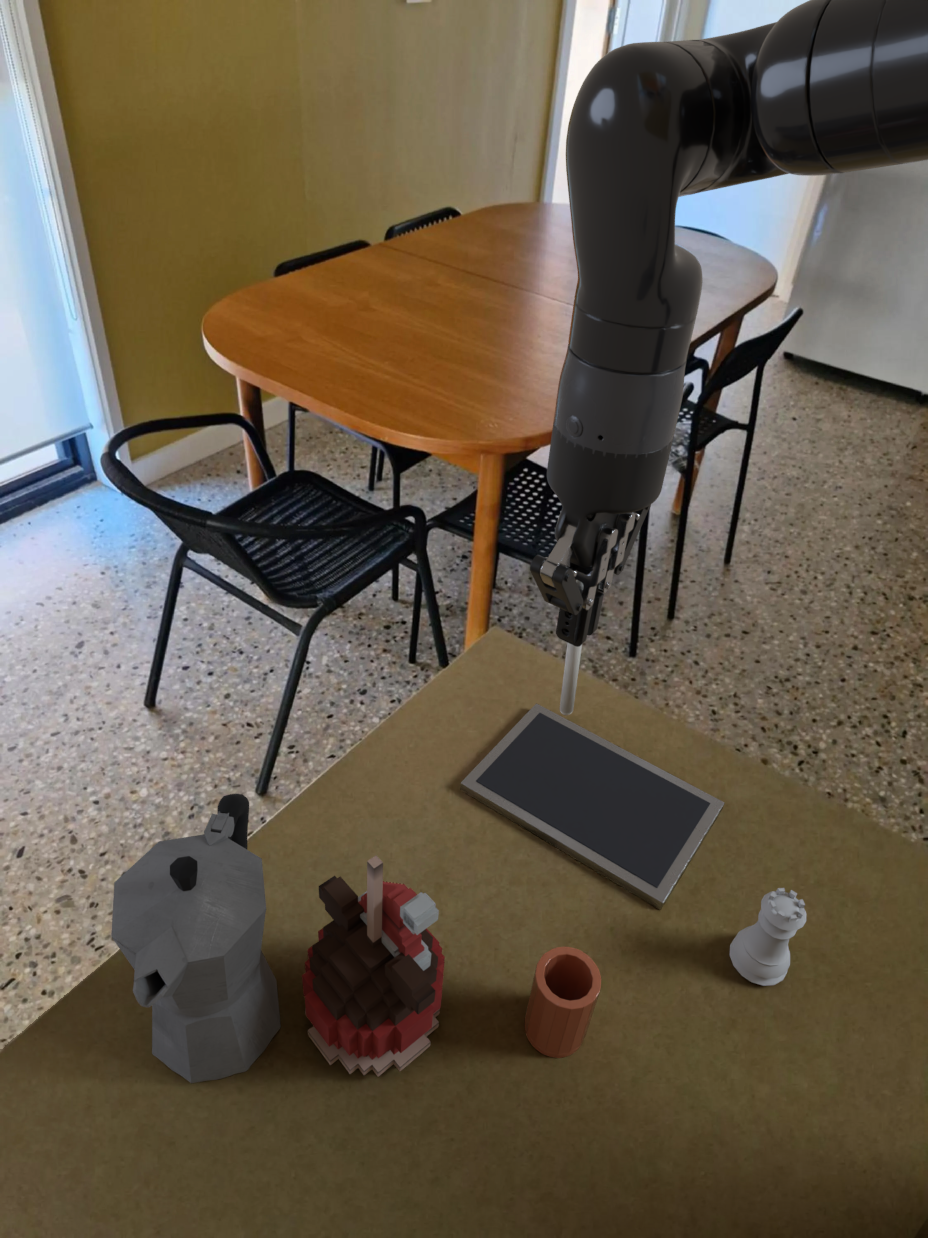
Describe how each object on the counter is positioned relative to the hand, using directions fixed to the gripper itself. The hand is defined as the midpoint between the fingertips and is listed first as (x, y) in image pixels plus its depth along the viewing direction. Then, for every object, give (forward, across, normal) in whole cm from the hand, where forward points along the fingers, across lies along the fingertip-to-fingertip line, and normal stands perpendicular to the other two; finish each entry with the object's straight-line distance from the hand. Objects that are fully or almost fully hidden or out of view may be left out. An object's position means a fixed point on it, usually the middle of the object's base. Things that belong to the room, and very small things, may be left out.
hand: (576, 634), depth 66 cm
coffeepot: (+21, -29, +9) cm, 37 cm away
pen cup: (+21, -16, -11) cm, 28 cm away
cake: (+21, -23, 0) cm, 31 cm away
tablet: (+21, +4, -3) cm, 21 cm away
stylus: (+8, 0, 0) cm, 8 cm away
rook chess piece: (+21, -2, -21) cm, 30 cm away
